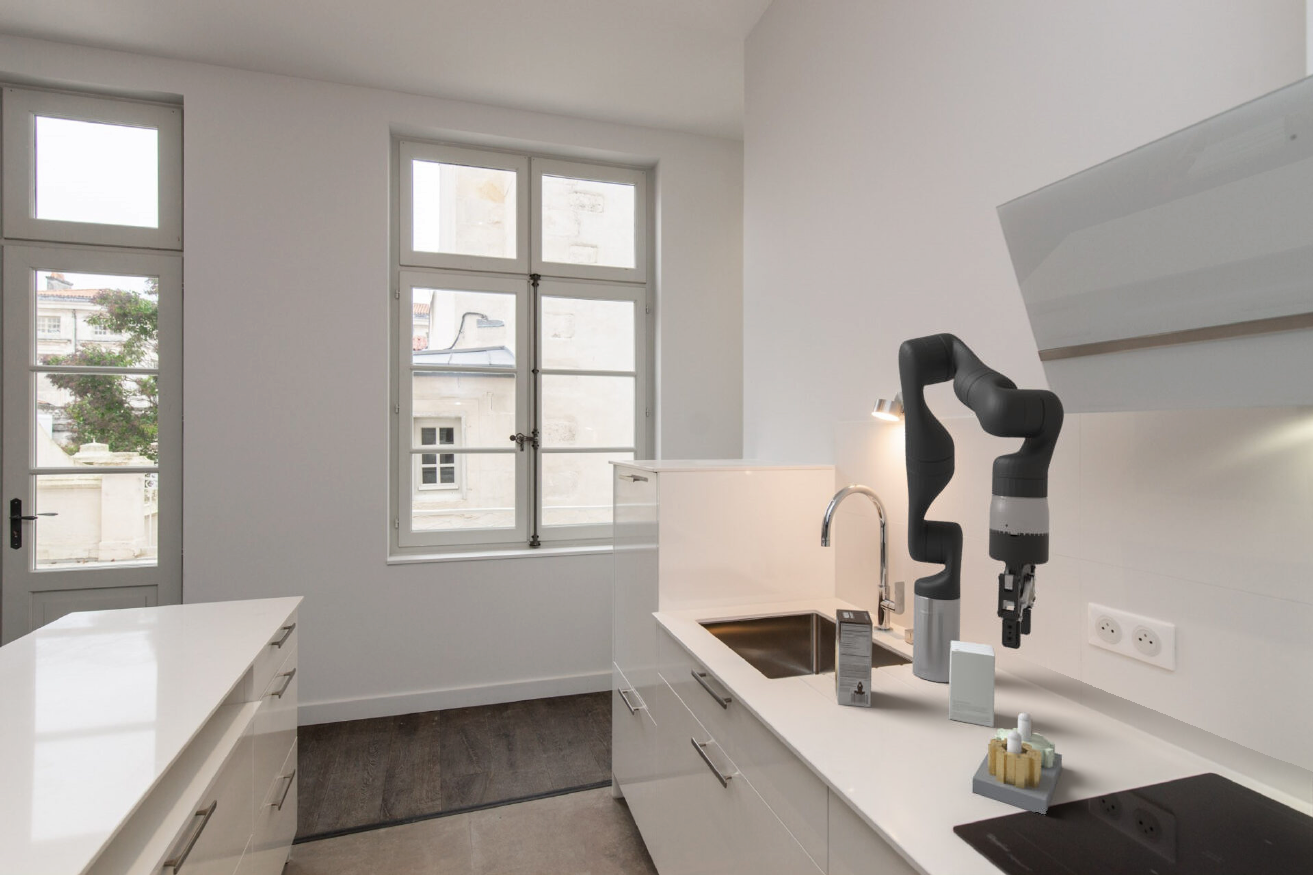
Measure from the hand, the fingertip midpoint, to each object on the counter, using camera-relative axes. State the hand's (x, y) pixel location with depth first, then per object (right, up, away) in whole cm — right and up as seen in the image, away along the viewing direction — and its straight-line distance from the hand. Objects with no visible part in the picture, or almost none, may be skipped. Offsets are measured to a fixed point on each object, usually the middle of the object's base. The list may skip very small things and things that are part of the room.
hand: (1016, 640), depth 93 cm
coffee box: (-14, -22, +33) cm, 42 cm away
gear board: (+2, -22, +3) cm, 22 cm away
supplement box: (+6, -22, +26) cm, 34 cm away
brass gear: (0, -20, 0) cm, 20 cm away
